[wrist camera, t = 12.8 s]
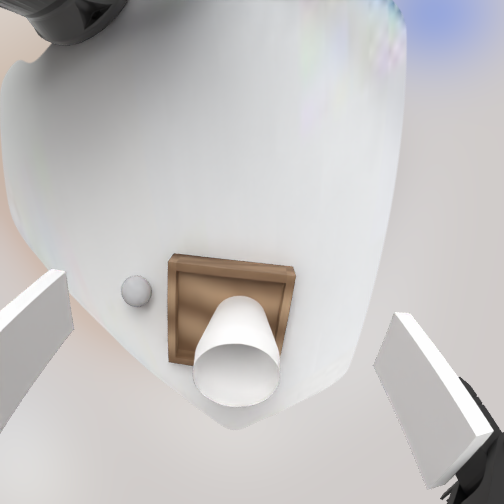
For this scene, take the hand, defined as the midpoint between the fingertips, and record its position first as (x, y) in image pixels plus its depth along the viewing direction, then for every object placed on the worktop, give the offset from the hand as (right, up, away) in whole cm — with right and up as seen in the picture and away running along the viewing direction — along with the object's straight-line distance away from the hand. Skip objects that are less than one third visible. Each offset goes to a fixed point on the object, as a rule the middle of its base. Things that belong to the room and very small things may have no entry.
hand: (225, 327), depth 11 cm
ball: (-14, -2, +29) cm, 32 cm away
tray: (-2, -5, +30) cm, 31 cm away
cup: (-1, -6, +30) cm, 30 cm away
